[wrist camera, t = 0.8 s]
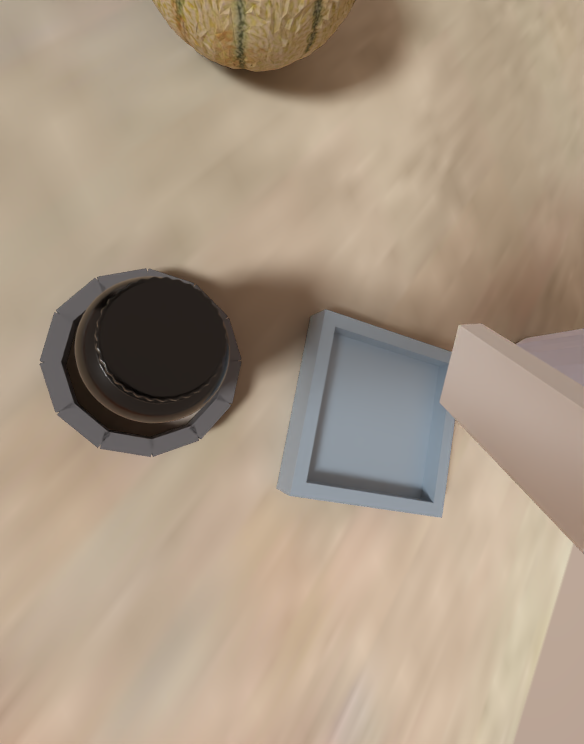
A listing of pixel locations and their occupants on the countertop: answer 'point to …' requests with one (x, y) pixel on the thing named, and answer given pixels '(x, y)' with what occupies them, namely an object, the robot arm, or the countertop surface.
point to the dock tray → (368, 419)
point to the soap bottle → (559, 352)
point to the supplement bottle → (152, 349)
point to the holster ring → (88, 425)
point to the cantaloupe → (254, 29)
